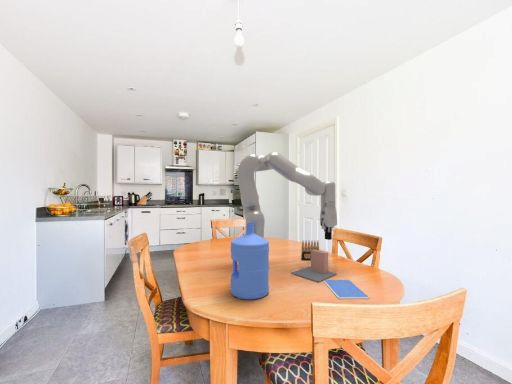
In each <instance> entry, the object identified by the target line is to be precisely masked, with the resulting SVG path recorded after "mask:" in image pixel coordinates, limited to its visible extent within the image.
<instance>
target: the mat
mask: <svg viewBox="0 0 512 384" xmlns="http://www.w3.org/2000/svg"><path fill="white" fill-rule="evenodd" d="M290 274H291V275H293V276H297V277H300V278H303V279H306V280H309V281H312V282H315V283H321V282H324V280H329V279H331V278H332V277H335V276H337V273H336V272H333V271H329V270H328V272H327V273H325V274H324V273H320V272H317V271H313V270H311V265H308V266H306V267H303V268H301V269H296V270H294V271H292V272H290Z"/></svg>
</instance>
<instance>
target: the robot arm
mask: <svg viewBox="0 0 512 384" xmlns="http://www.w3.org/2000/svg"><path fill="white" fill-rule="evenodd" d="M237 167H238V168H237V172H236V173H237V174H236V175H237V181H238V183H237V184H238V187H239V188H238V189H239V192H240V202H241V207H242V211H243V216H244V218H245V228H246V227H247V225H246V223H254V234H256V235H258V236H260V237H262V238H264V239H265V216H264V213H263V212H262V209H261V205H260V201H259V200H260V196H259V193H258V189H257V187H256V179H255V172H263V171H264V172H265V171H270V170H274V171H275V172H277V174H279V175H281V176H282V177H283V178H284V179H286V180H288V181H290V182H293V183H296V184H298V185H300V186H301V187H302V188H304V190H305V192H306V194H307V195H308V196H315V197H316V196H317V197H318V196H320V213H319V214H320V215H319V224H320V227H321V230H323V232H324V239H325V240H328V241H330V240H332V239H333V238H332V237H333V235H332V234H333V233H332V232H333V229H334V228H335V227H337V225H338V215H337V213H338V212H337V208H336V183H335V182H334V181H322V180H320V179H319V178H317V177H316V176H315V175H314V174H312V173H311V172H308V171H307V170H305V169H303V168H301V167H299V166H298V165H296V164H295V163H293V162H292V161H291V160H289V159H287V158H286V157H285V156H284V155H282V154H281V153H279V152H277V151H271V152H269V153H268V154H265V155H257V154H255V153H250V154H247V155H246V156H244V158H243V159H241V161H240V162H239V165H238V166H237ZM237 270H239V265H237Z"/></svg>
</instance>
